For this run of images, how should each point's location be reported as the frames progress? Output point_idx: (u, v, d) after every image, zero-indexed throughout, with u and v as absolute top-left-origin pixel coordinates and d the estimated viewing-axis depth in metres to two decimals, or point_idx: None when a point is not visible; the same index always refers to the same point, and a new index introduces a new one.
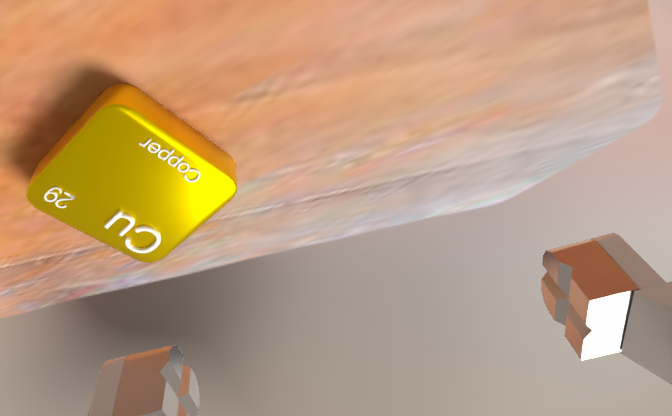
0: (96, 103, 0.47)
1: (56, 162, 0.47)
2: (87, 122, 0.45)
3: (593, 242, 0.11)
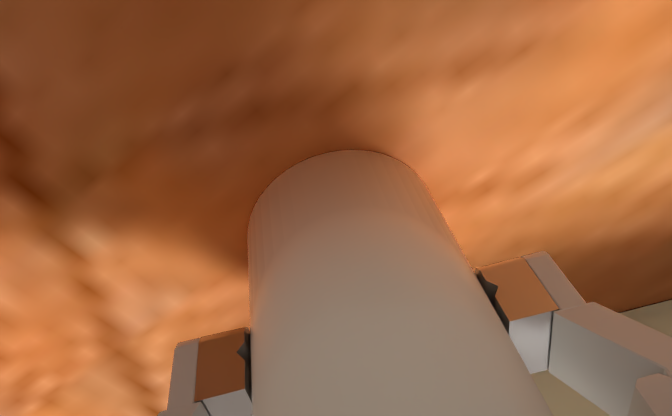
0: None
1: None
2: None
3: (522, 260, 0.11)
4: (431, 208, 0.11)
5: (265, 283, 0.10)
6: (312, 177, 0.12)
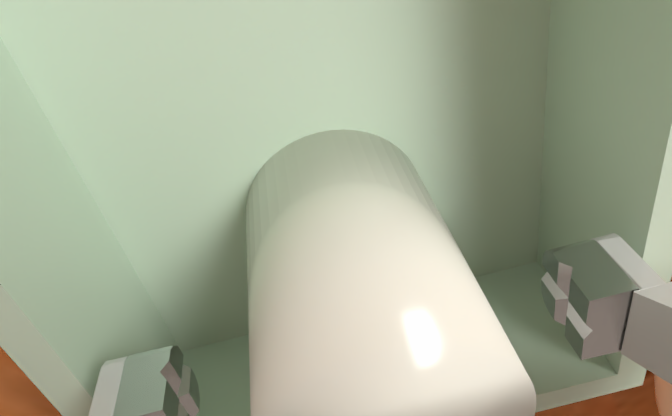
0: None
1: None
2: None
3: (593, 242, 0.11)
4: (415, 182, 0.12)
5: (261, 249, 0.11)
6: (305, 154, 0.13)
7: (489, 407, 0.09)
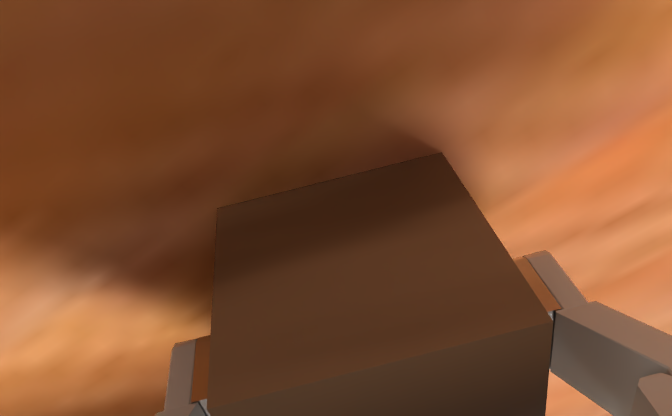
0: None
1: None
2: None
3: (524, 260, 0.11)
4: None
5: None
6: None
7: None
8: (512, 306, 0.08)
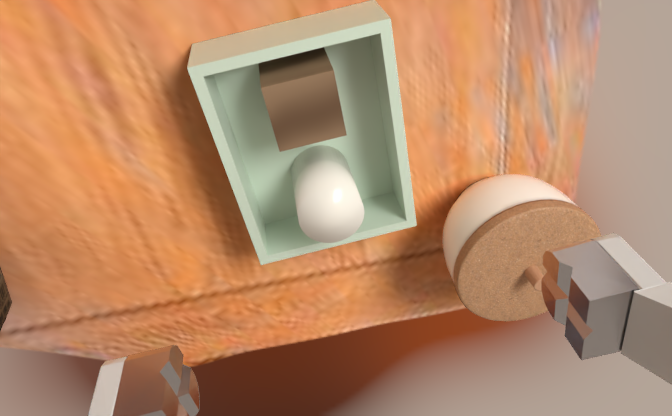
0: None
1: None
2: None
3: (593, 242, 0.11)
4: (333, 155, 0.42)
5: (294, 186, 0.42)
6: (301, 157, 0.43)
7: (348, 201, 0.39)
8: (326, 69, 0.35)
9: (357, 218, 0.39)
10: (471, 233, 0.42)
